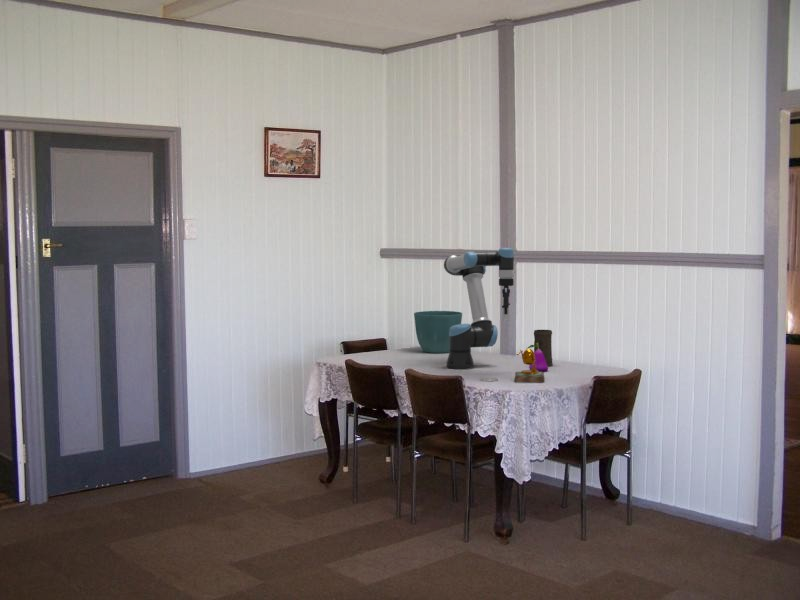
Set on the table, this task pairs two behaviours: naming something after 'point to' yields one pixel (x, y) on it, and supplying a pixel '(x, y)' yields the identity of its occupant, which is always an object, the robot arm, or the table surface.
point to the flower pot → (435, 329)
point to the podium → (529, 377)
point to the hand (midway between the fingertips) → (505, 319)
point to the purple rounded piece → (539, 360)
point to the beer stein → (544, 344)
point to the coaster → (488, 379)
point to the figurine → (529, 361)
